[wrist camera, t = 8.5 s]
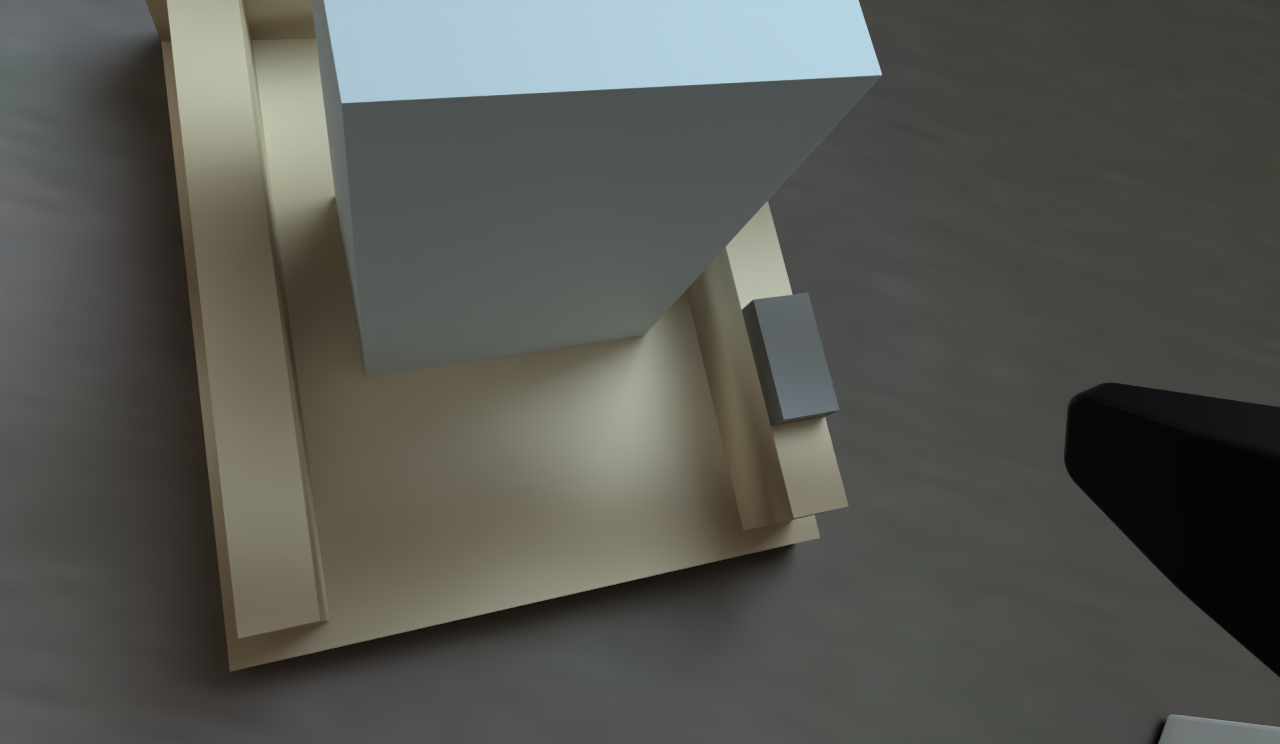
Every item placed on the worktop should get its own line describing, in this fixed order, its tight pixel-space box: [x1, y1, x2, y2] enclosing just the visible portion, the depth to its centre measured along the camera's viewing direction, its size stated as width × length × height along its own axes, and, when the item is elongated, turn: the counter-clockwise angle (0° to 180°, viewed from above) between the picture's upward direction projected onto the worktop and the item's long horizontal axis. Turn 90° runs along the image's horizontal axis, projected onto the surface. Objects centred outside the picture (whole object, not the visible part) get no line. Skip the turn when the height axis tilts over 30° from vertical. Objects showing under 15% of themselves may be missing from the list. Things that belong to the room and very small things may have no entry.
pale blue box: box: [311, 0, 882, 377], centre depth 14 cm, size 4×6×10 cm, turn 103°
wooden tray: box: [145, 0, 848, 672], centre depth 18 cm, size 14×12×4 cm
